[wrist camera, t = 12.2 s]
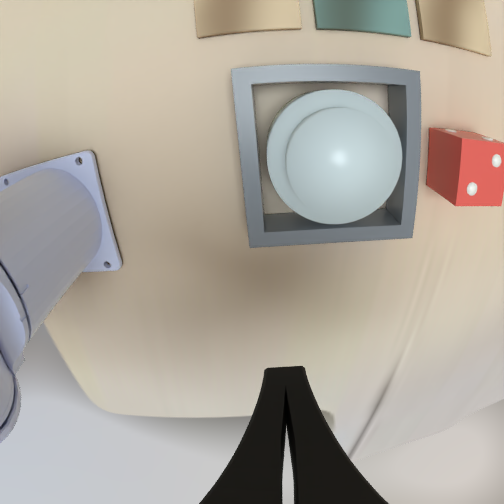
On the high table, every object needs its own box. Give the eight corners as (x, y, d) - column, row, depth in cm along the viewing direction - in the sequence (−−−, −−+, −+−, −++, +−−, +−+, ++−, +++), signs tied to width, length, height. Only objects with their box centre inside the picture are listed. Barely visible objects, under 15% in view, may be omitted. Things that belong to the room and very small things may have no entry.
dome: (271, 208, 17) (272, 239, 14) (261, 92, 14) (260, 91, 11) (381, 203, 17) (406, 231, 14) (382, 91, 14) (413, 93, 11)
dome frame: (251, 228, 18) (249, 248, 16) (235, 72, 14) (230, 68, 12) (396, 220, 18) (412, 238, 15) (400, 72, 13) (419, 71, 11)
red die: (426, 184, 16) (456, 206, 13) (429, 126, 15) (463, 136, 12) (469, 185, 16) (501, 206, 13) (474, 131, 14) (510, 143, 11)
